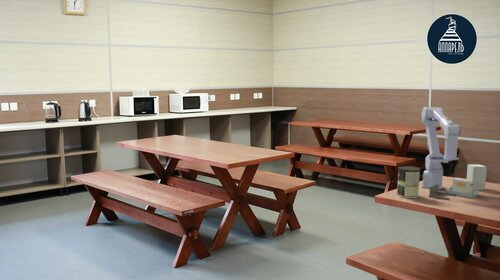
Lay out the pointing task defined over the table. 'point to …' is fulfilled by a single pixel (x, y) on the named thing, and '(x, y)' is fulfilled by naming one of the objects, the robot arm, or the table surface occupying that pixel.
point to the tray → (463, 193)
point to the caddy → (462, 185)
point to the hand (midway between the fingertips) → (448, 175)
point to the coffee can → (408, 181)
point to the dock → (435, 190)
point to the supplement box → (477, 176)
